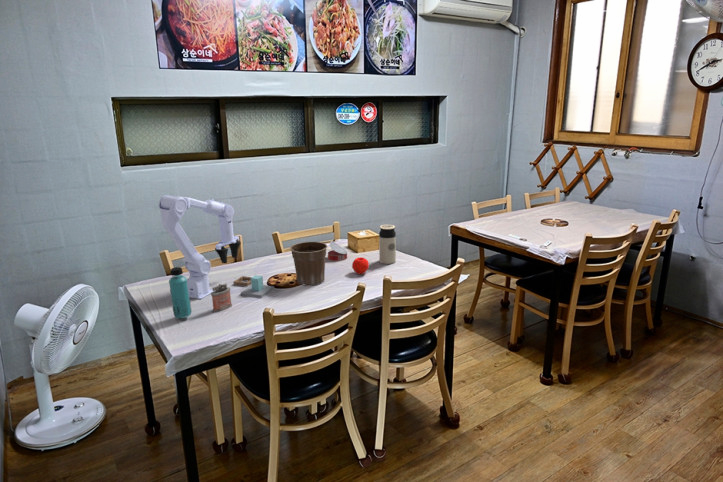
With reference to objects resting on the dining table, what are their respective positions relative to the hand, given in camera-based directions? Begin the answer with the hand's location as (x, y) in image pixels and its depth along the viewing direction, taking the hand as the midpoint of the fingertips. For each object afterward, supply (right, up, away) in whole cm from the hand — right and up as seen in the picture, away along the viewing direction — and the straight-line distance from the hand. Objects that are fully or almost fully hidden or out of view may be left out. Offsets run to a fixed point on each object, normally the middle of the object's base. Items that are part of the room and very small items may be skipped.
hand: (229, 260), depth 213 cm
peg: (+15, -12, -10) cm, 21 cm away
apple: (+58, -7, +9) cm, 59 cm away
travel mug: (+72, -2, +24) cm, 75 cm away
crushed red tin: (+4, -18, -25) cm, 31 cm away
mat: (+15, -13, -10) cm, 22 cm away
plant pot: (+36, -9, +1) cm, 37 cm away
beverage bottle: (-8, -21, -33) cm, 40 cm away
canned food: (+46, 0, +31) cm, 56 cm away
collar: (+7, -10, +1) cm, 12 cm away
